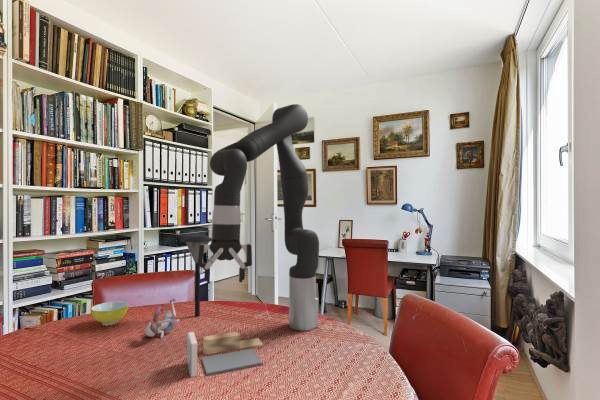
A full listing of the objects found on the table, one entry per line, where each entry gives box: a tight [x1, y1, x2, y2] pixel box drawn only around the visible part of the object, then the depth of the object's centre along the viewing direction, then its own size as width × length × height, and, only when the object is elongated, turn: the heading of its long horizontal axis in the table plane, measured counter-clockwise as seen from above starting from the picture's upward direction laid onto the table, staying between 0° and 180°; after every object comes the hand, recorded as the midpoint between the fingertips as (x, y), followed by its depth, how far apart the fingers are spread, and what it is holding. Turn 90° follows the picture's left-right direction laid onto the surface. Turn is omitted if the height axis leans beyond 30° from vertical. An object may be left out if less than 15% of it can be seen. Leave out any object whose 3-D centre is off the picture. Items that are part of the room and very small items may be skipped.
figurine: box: [144, 298, 180, 339], centre depth 107 cm, size 12×9×15 cm
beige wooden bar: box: [202, 331, 264, 356], centre depth 98 cm, size 17×5×4 cm, turn 114°
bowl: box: [90, 301, 129, 327], centre depth 117 cm, size 11×12×6 cm
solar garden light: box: [180, 234, 212, 318], centre depth 125 cm, size 12×12×30 cm
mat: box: [201, 348, 263, 377], centre depth 89 cm, size 14×9×1 cm, turn 114°
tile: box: [186, 331, 198, 378], centre depth 85 cm, size 2×8×8 cm, turn 24°
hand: (224, 282), depth 91 cm, fingers open, 8 cm apart
